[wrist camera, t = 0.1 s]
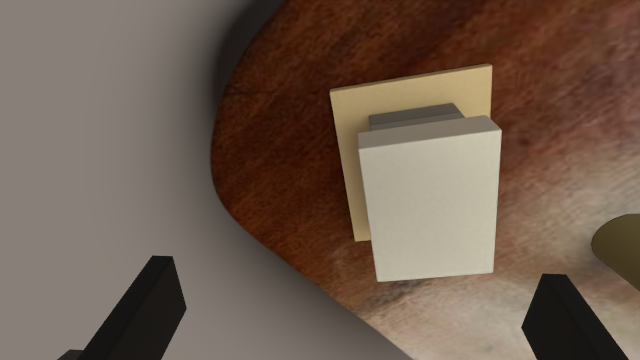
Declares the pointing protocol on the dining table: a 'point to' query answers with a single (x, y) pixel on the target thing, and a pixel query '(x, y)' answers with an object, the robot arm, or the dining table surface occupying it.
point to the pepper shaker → (620, 247)
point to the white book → (432, 197)
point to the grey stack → (401, 116)
